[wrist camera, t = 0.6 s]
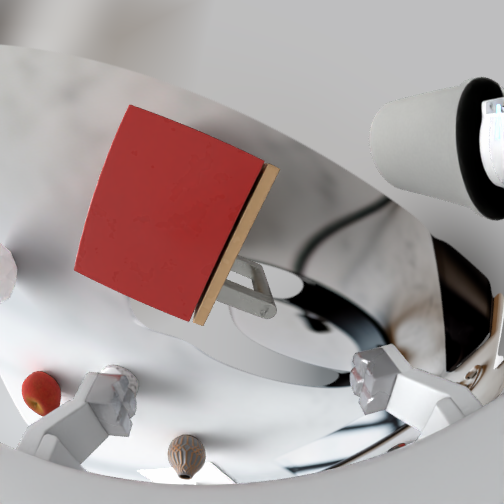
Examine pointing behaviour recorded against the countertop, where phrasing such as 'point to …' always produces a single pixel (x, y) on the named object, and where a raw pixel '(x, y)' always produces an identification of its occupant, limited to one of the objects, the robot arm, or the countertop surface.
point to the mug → (120, 370)
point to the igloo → (203, 477)
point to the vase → (186, 456)
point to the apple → (41, 393)
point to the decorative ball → (6, 273)
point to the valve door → (241, 262)
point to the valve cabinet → (163, 211)
